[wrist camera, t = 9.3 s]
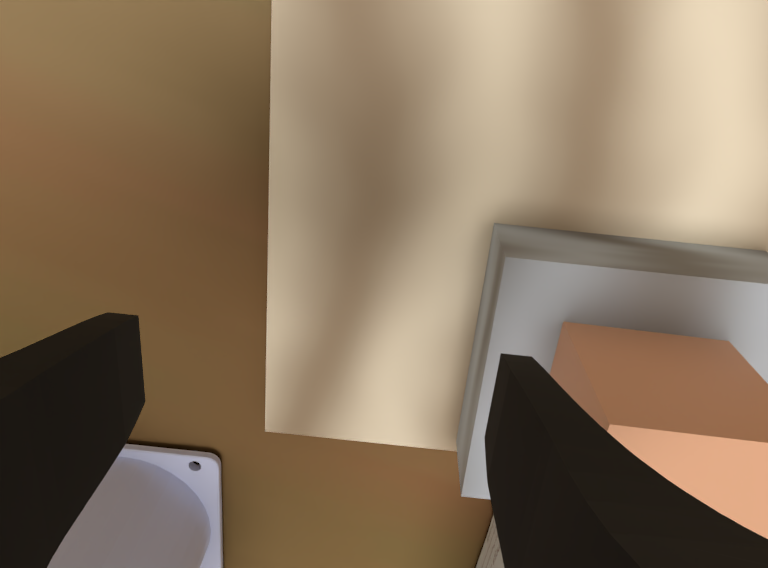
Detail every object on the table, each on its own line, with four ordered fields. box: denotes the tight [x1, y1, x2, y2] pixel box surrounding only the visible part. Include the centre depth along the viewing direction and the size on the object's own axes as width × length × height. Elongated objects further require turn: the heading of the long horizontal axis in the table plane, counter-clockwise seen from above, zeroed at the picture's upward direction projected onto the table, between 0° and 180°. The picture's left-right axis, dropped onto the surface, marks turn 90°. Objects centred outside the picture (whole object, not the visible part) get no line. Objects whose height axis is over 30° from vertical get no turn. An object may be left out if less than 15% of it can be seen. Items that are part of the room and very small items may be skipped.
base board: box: [265, 0, 768, 499], centre depth 20 cm, size 18×18×4 cm
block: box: [550, 321, 768, 539], centre depth 18 cm, size 5×5×5 cm
